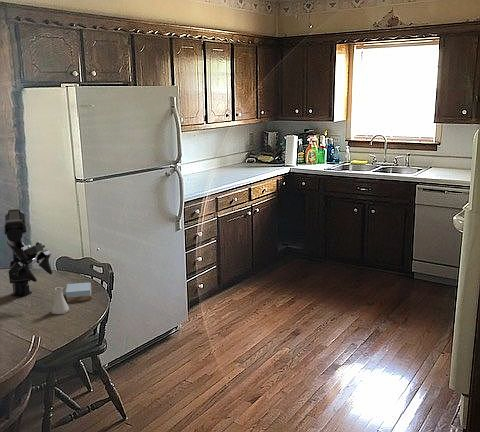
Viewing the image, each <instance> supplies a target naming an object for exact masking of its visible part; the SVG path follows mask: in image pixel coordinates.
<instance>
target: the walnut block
mask: <svg viewBox="0 0 480 432" xmlns="http://www.w3.org/2000/svg"><path fill="white" fill-rule="evenodd" d="M90 300H92V294H91V295H90V296H81V297H69V298H66V303H70V302H80V301H82V302H83V301H90Z"/></svg>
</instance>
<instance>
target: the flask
mask: <svg viewBox="0 0 480 432" xmlns="http://www.w3.org/2000/svg"><path fill="white" fill-rule="evenodd" d="M63 289H64V288H63V287H61V286H59V287H55V288H54V291H55V297H54V302H53V304H52V309H51V314H52V315H64V314H67V313H68V312H70V307H69V305H68V302H67V300H66V299H65V296H64V294H63Z"/></svg>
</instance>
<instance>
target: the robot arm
mask: <svg viewBox="0 0 480 432" xmlns="http://www.w3.org/2000/svg"><path fill="white" fill-rule="evenodd" d="M7 211H8V213H6V214H5V215H4V220H5V224H4V227H3V228H4V235H5V236H6V238H7V241H6V244H7V246H8V247H9V248H10V249H11V251H12V257H13V260H11V261H10V264H9V269H8V278H9V284H12V291H13V292H12V293H10V296H13V297H18V298H23V297H25V296H28V295H30V294H32V293H33V291H32V290H30V283H29V282H31V281H32V282H34V283H36V282H37V281H38V279H37V278H36V276H35V275H34V274H33V272H32V270H31V269H30V266H29V265H32V264H35V263H37V264H38V266H39V267H40V268H41V269H43V270H44V271H45V272H46V273H47V274H49V275H53V270H52V267H51V264H50V258H51V255H52V252H51V251H50V250H48V249H45V247H46V246H45V244H44V242H42V240H39V241H36V242H35V245H33V246H32V245H31V244H26V242H25V240H24V237H23V235H24V234H26V233H27V225H26V215H25V213H23V212H21V209H19V208H17V209H16V208H14V209H9V210H7ZM44 249H45V250H44Z"/></svg>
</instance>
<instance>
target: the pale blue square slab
mask: <svg viewBox="0 0 480 432" xmlns="http://www.w3.org/2000/svg"><path fill="white" fill-rule="evenodd" d="M90 295H91V296H92V284H91V282H79V283H67V284H66V289H65V298H66V299H67V298H69V297H81V296H90Z"/></svg>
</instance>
